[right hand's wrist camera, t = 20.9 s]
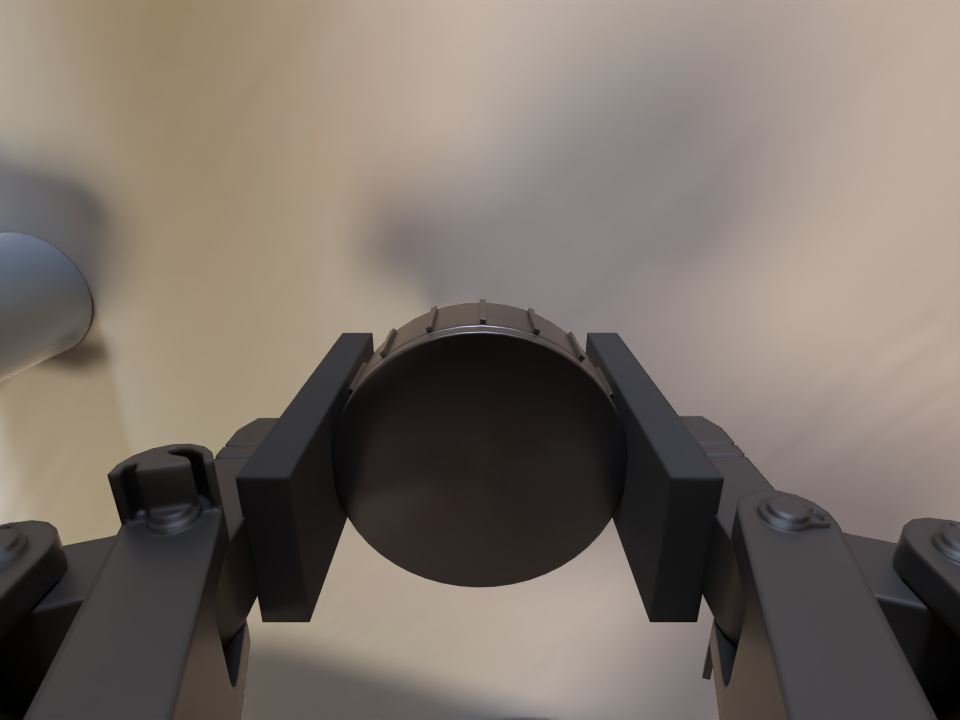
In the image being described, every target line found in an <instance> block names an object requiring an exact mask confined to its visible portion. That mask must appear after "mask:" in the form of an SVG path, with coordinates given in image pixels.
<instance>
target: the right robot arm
mask: <svg viewBox="0 0 960 720" xmlns="http://www.w3.org/2000/svg"><path fill="white" fill-rule="evenodd" d="M373 354H374V349H373V336H372V333H342V335H341V336H340V337H339V339H338V340H337V341H336V343H335V344H334V345H333V347H332V348H331V349H330V351H329V352H328V353H327V355H326V356H325V357H324V359H323V360H322V362H321V363H320V364H319V366H318V367H317V368H316V370H315V371H314V372H313V374H312V375H311V376H310V378H309V379H308V380H307V382H306V383H305V384H304V386H303V387H302V388H301V390H300V391H299V392H298V394H297V395H296V397H295V398H294V399H293V401H292V402H291V403H290V405H289V406H288V407H287V409H286V410H285V411H284V413H283V414H282V415H281V417H280V418H258V419H256V420H254V421H253V422H251V423H249V424H248V425H246V426H244V427H243V428H241V429H239V430H238V431H237V432H236V433H235V434H234V435H233V437H232V438H231V439H230V440H229V441H228V442H227V444H226V447H223V448H222V449H221V450H220V452H219V453H218V454H217V455H216V459H213V454H212V452H211V451H210V450H208V449H207V448H206V447H204V446H199V445H194V444H172V445H168V446H163V447H158V448H153V449H150V450H147V451H145V452H142V453H139V454H136V455H134V456H132V457H130V458H128V459H127V460H125V461H123V462H121V463H120V464H118V465H117V466H116V467H115V468H114V469H113V470H112V471H111V472H110V473H109V474H108V479H109V482H110V486H111V489H112V492H113V496H114V499H115V503H116V506H117V510H118V513H119V517H120V520H121V524H122V526H121V528H120V530H119V532H118V534H117V535H115V536H111V537H107V538H102V539H97V540H92V541H86V542H81V543H76V544H71V545H66V546H62V543H61V540H60V537H59V534H58V531H57V529H56V528H55V527H54V526H53V525H51V524H50V523H48V522H42V521H33V520H31V521H23V522H16V523H8V524H3V525H0V720H241V712H242V705H243V697H244V689H245V681H246V673H247V665H248V657H249V649H250V636H249V630H248V625H247V620H246V618H247V616H248V614H249V612H250V610H251V608H252V606H253V604H254V602H255V600H256V598H257V596H258V600H259V605H260V611H261V616H262V621H263V622H310V620H311V617H312V614H313V611H314V609H315V606H316V603H317V600H318V597H319V595H320V592H321V589H322V586H323V584H324V581H325V578H326V575H327V572H328V570H329V567H330V564H331V561H332V558H333V556H334V553H335V550H336V547H337V545H338V542H339V539H340V536H341V533H342V531H343V528H344V525H345V522H346V519H347V515H346V513H345V511H344V509H343V506H342V504H341V502H340V500H339V497H338V493H337V490H336V487H335V480H334V472H333V462H332V448H333V440H334V434H335V431H336V428H337V424H338V421H339V418H340V416H341V414H342V412H343V409H344V407H345V405H346V403H347V401H348V399H349V397H350V396H351V394H349V393H348V392H347V391H348V390H349V388H350V386H351V384H352V382H353V380H354V379H355V377H356V375H357V373H358V371H359V369H360V368H361V366H362V364H363V362H365V363H368V362H369V360H370V359H371V357H372V356H373ZM586 354H587V356H588V357H589V359H590V361H591V362H592V364H593V366H594V367H595V368H596V367H598V366H599V368H600V370H601V372H602V373H603V375H604V377H605V379H606V381H607V383H608V384H609V386H610V388H611V390H612V392H613V394H614V395H615V398H613V399H612V401H613V403H614V405H615V407H616V409H617V411H618V414H619V416H620V419H621V421H622V423H623V427H624V431H625V435H626V439H627V449H628V459H627V468H626V477H625V485H624V491H623V494H622V496H621V499H620V502H619V504H618V507H617V509H616V510H615V512H614V514H613V516H612V518H613V520H614V523H615V526H616V529H617V532H618V534H619V537H620V540H621V543H622V545H623V548H624V551H625V554H626V557H627V559H628V562H629V565H630V568H631V571H632V573H633V576H634V579H635V582H636V585H637V587H638V590H639V593H640V596H641V598H642V601H643V604H644V607H645V610H646V612H647V615H648V618H649V621H650V622H697V619H698V614H699V609H700V604H701V598H702V594H703V596H704V598H705V600H706V602H707V604H708V606H709V608H710V610H711V612H712V614H713V616H714V620H713V625H712V630H711V635H710V640H709V644H708V649H707V654H706V659H705V664H704V670H703V677H702V678H705V679H709V680H710V677H711V672H712V668H713V672H714V679H715V687H716V695H717V703H718V711H719V719H720V720H960V522H956V521H951V520H942V519H934V518H922V519H913V520H911V521H910V522H908V523H907V524H906V525H904V527H903V530H902V533H901V536H900V539H899V542H898V544H897V543H891V542H886V541H881V540H876V539H871V538H866V537H861V536H856V535H851V534H847V533H843V532H842V531H841V529H840V527H839V525H838V523H837V522H836V521H835V520H834V518H833V517H832V516H831V515H830V514H829V513H828V512H827V511H825V510H824V509H822V508H821V507H819V506H818V505H816V504H815V503H813V502H811V501H809V500H806V499H804V498H802V497H799V496H797V495H794V494H790V493H785V492H781V491H777V490H775V489H774V488H773V487H772V486H771V484H770V483H769V482H768V481H767V480H766V479H765V477H764V476H763V475H762V474H761V473H760V472H759V470H758V469H757V468H756V467H755V466H754V465H753V464H752V462H751V461H750V460H749V459H748V458H747V457H744V453H743V452H742V451H741V450H740V449H739V447H738V446H737V445H734V442H733V440H732V439H731V438H730V437H729V436H728V435H727V433H726V432H725V431H724V430H723V429H722V428H721V427H719V426H717V425H715V424H714V423H712V422H710V421H709V420H707V419H705V418H704V417H702V416H678V415H677V413H676V412H675V410H674V409H673V408H672V406H671V405H670V404H669V402H668V401H667V400H666V398H665V397H664V396H663V394H662V393H661V392H660V390H659V389H658V388H657V386H656V385H655V384H654V382H653V381H652V380H651V378H650V377H649V375H648V374H647V373H646V371H645V370H644V369H643V367H642V366H641V365H640V363H639V362H638V361H637V359H636V358H635V357H634V355H633V354H632V353H631V351H630V350H629V349H628V347H627V346H626V344H625V343H624V342H623V340H622V339H621V338H620V336H619V335H618V334H617V333H587V344H586Z"/></svg>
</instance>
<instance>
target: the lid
mask: <svg viewBox="0 0 960 720" xmlns="http://www.w3.org/2000/svg"><path fill="white" fill-rule="evenodd" d="M347 392H348V393H349V394H351V396H350V397H349V399H348V401H347V403H346V405H345V407H344V409H343V412H342V414H341V416H340V418H339V421H338V424H337V428H336V431H335V434H334V440H333V448H332V462H333V472H334V480H335V487H336V490H337V493H338V497H339V500H340V502H341V504H342V506H343V509H344V511H345V513H346V515H347V517H348V518H349V520H350V521H351V523H352V524H353V526H354V527H355V529H356V530H357V531H358V532H359V534H360V535H361V536H362V537H363V538H364V539H365V540H366V542H367V543H368V544H369V545H371V546H372V547H373V548H374V549H375V550H376V551H377V552H379V553H380V554H381V555H382V556H384V557H385V558H387V559H388V560H390V561H391V562H392V563H394V564H396V565H397V566H399V567H401V568H403V569H405V570H407V571H409V572H411V573H413V574H416V575H418V576H421V577H423V578H426V579H429V580H433V581H437V582H440V583H444V584H450V585H456V586H465V587H496V586H503V585H510V584H515V583H519V582H523V581H527V580H531V579H533V578H536V577H539V576H542V575H544V574H547V573H549V572H551V571H553V570H555V569H557V568H559V567H561V566H562V565H564V564H566V563H567V562H569V561H570V560H572V559H573V558H575V557H576V556H577V555H579V554H580V553H581V552H582V551H584V550H585V549H586V548H587V547H588V546H589V545H590V544H591V543H592V542H593V541H594V540H595V539H596V538H597V537H598V536H599V535H600V534H601V532H602V531H603V530H604V528H605V527H606V525H607V524H608V523H609V521H610V520H611V518H612V516H613V514H614V512H615V510H616V509H617V507H618V504H619V502H620V499H621V496H622V494H623V491H624V485H625V477H626V468H627V459H628V449H627V439H626V435H625V431H624V427H623V423H622V421H621V419H620V416H619V414H618V411H617V409H616V407H615V405H614V403H613V401H612V399H613V398H615V395H614V394H613V392H612V390H611V388H610V386H609V384H608V383H607V381H606V379H605V377H604V375H603V373H602V372H601V370H600V368H599V366H598V367H596V368H595V367H594V366H593V364H592V362H591V361H590V359H589V357H588V356H587V354H586V353H585V352H584V351H583V350H582V348H581V347H580V346H579V344H578V342H577V340H576V338H575V336H574V334H573V333H571V332H569V333H568V334H567V333H566V332H564V331H563V330H562V329H560V328H559V327H557V326H556V325H554V324H553V323H551V322H550V321H548V320H546V319H544V318H542V317H540V316H538V315H536V314H535V312H534V310H533V309H530V308H529V309H528V311H525V310H522V309H519V308H516V307H511V306H506V305H501V304H491V303H486V300H480V303H468V304H460V305H454V306H448V307H444V308H441V309H437V307H436V306H435V307H432V308H431V311H430V312H429V313H427V314H424V315H422V316H420V317H418V318H416V319H414V320H412V321H410V322H409V323H407V324H406V325H404V326H403V327H401V328H399V329H398V330H397V331H396V330H395V329H394V328H393V329H392V330H391V331H390V333H389V335H388V337H387V339H386V340H385V341H384V343H383V344H382V345H381V346H380V347H379V348H378V349H377V350H376V351H375V353H374V354H373V356H372V357H371V359H370V360H369V362H368V363H365V362H363V364H362V366H361V368H360V369H359V371H358V373H357V375H356V377H355V379H354V380H353V382H352V384H351V386H350V388H349V390H348V391H347Z"/></svg>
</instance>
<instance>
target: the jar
mask: <svg viewBox="0 0 960 720" xmlns="http://www.w3.org/2000/svg"><path fill="white" fill-rule="evenodd" d="M91 318H92V301H91V296H90V292H89V289H88V287H87V284H86V282H85V280H84V278H83V277H82V275H81V273H80V272H79V270H78V269H77V268H76V266H75V265H74V264H73V263H72V262H71V261H70V260H69V259H68V258H67V257H66V256H65V255H64V254H63V253H62V252H61V251H59V250H58V249H56V248H55V247H53V246H52V245H50V244H48V243H47V242H45V241H43V240H41V239H38V238H36V237H33V236H30V235H26V234H22V233H16V232H2V233H0V381H3V380H5V379H7V378H9V377H11V376H13V375H15V374H17V373H19V372H22V371H24V370H26V369H28V368H30V367H32V366H34V365H36V364H38V363H41V362H43V361H45V360H47V359H49V358H51V357H53V356H55V355H58V354H60V353H62V352H64V351H66V350H68V349H70V348H72V347H73V346H75V345H76V344H77V343H78V342H79V341H80V340H81V339H82V338H83V337H84V335H85V334H86V332H87V330H88V328H89V326H90V322H91Z"/></svg>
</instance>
